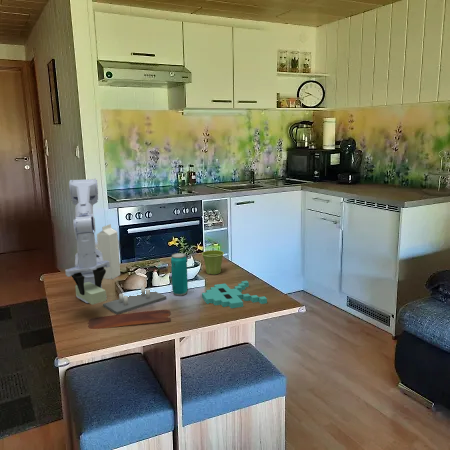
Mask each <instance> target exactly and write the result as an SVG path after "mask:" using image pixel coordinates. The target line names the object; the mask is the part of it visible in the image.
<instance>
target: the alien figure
mask: <svg viewBox="0 0 450 450" xmlns="http://www.w3.org/2000/svg"><path fill="white" fill-rule="evenodd" d="M249 286H250V283H249V281H248V280H242V281H241V282H240V283H237V285H235V286H234V287H233V288H230V287H229V286H228V285H227V283H218V284H214V285H213V286H212V287H210V288H209V289H206V290H205V292H202V293H201V298H202V299H203V301H204V302H205V303H206V304H207V305H210V304H209V303H211V304H213V305H214V306H222V307H223V308H225V307H229V308H230V309H236V308H238V309H239V308H243V307H244V302H249V301H250V302H252V303H253V304H254V303H259V304H260V305H264V304H267V303H268V298H267V297H266V296H258V295H257V294H254V295H250V294H249V293H242V292H243V290H244V291H245V290H246V288H250V287H249Z"/></svg>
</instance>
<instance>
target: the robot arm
mask: <svg viewBox="0 0 450 450" xmlns="http://www.w3.org/2000/svg"><path fill="white" fill-rule="evenodd" d="M68 187H69V188H68V189H69V195H70V199H71V202H72V205H75V208H74V218H73V221H72V222H73V223H72V224H73V232H74V233H73V234H74V235H75V241H76V250H77V252H76V253H75V255H74V259H75V260H74V266H73V267H70V268H67V269H64V270H65V276H66V277H68V278H70V277H72V280H73V281H74V282H75V285H77V286H78V289H79V292H80V294H81V295H84V294H85V291H84V283H86V282H91V283H93V284H94V285H96V286H98V287H100V288H102V289H103V285H102V284H103V283H102V282H103V280H104V278H103V277H104V275H105V273H106V270H105V269H104V268H105V267H110V263H109V261H107V260H106V261H103V256H102V253H101V251H99V250H98V248H97V247H96V237H95V234H96V220H95V216H94V205H95V204H97V203H98V201H99V189H98V179H96V178H91V179H89V178H88V179H70V180H69V181H68ZM75 295H76V294H75ZM75 297H76V298H77V299H79V300H81V301H82V302H84V303H85V304H90V303H89V302H87V301H85V300H84V299H82V298H80V297H79V296H77V295H76V296H75ZM107 298H108V296H107V295H106V299H107Z"/></svg>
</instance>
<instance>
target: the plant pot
mask: <svg viewBox="0 0 450 450" xmlns="http://www.w3.org/2000/svg"><path fill="white" fill-rule="evenodd" d="M224 255H225V251H222V250H215V249H213V250H212V249H211V250H205V251H203V252H201V256H202V258H203V262H204V265H205V266H204V267H205V271H206V274H208V275H218V274H221V272H222V271H221V270H222V262H223V257H224Z"/></svg>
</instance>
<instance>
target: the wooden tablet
mask: <svg viewBox="0 0 450 450" xmlns="http://www.w3.org/2000/svg"><path fill="white" fill-rule="evenodd" d="M171 315H172V313H171V310H170V309H157V310H145V311H138V312H129V313H121V314H118V315H117V314H114V315H107V316H106V315H104V316H97V317H92V318H89V319H88V322H87V327H88V329H90V330H103V329H111V328H119V327H121V328H122V327H128V326H131V327H132V326H141V325H151V324H154V325H155V324H163V323H164V324H165V323H170V322H171V321H172V319H171V317H170V316H171Z"/></svg>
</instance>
